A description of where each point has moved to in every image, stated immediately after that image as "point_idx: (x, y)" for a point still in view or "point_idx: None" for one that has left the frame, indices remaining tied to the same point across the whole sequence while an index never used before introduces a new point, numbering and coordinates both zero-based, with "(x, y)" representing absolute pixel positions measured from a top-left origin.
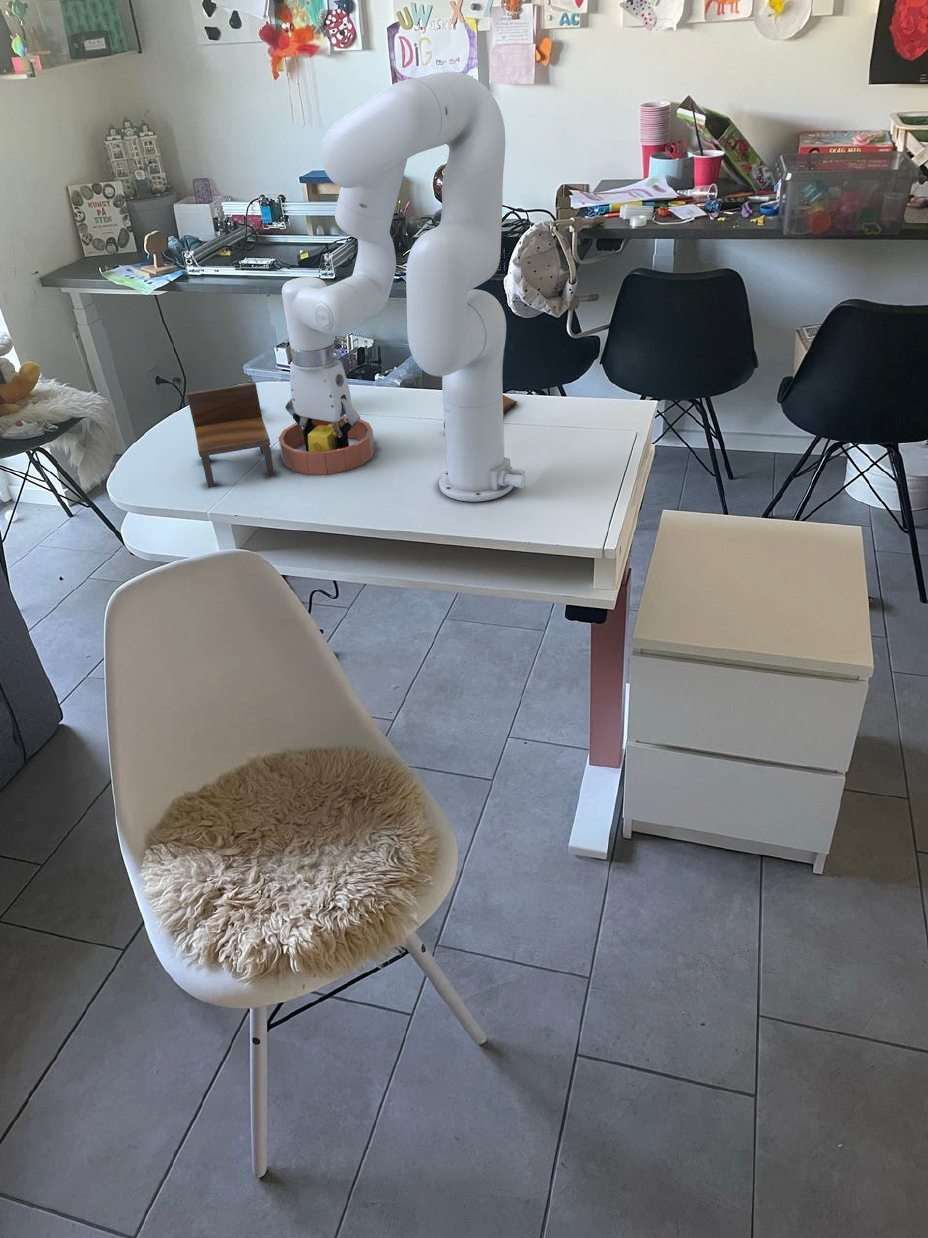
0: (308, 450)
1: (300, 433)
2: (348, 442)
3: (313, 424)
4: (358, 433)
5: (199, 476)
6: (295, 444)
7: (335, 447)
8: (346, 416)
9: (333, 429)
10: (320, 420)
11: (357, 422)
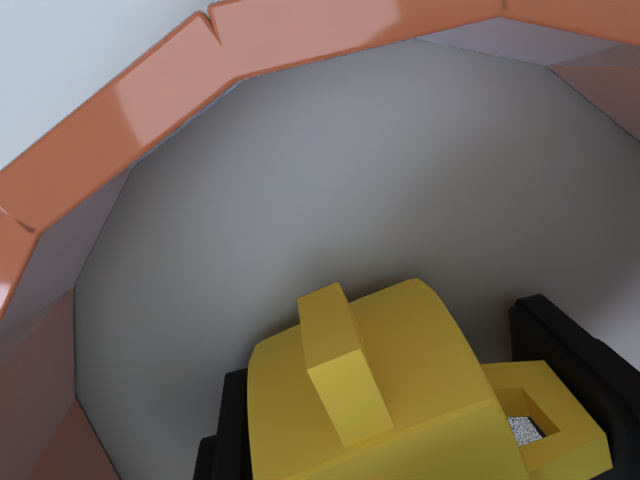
0: None
1: (32, 451)
2: (632, 368)
3: (7, 353)
4: (450, 38)
5: None
6: (89, 455)
7: None
8: (276, 10)
9: (510, 468)
10: (21, 298)
11: (525, 27)
